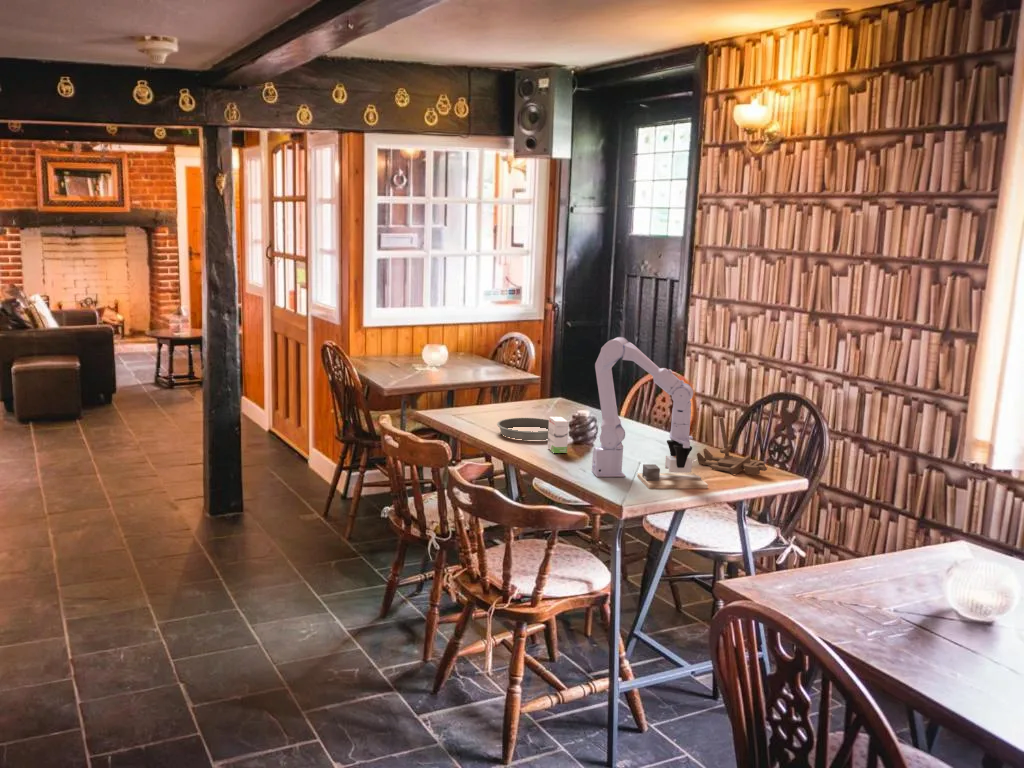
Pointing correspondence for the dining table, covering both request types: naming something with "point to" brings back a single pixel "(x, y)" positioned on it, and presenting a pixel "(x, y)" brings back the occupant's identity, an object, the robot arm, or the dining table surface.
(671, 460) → the block
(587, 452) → the dining table surface
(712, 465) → the wooden figure
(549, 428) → the ink box
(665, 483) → the rail board
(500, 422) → the cake pan
